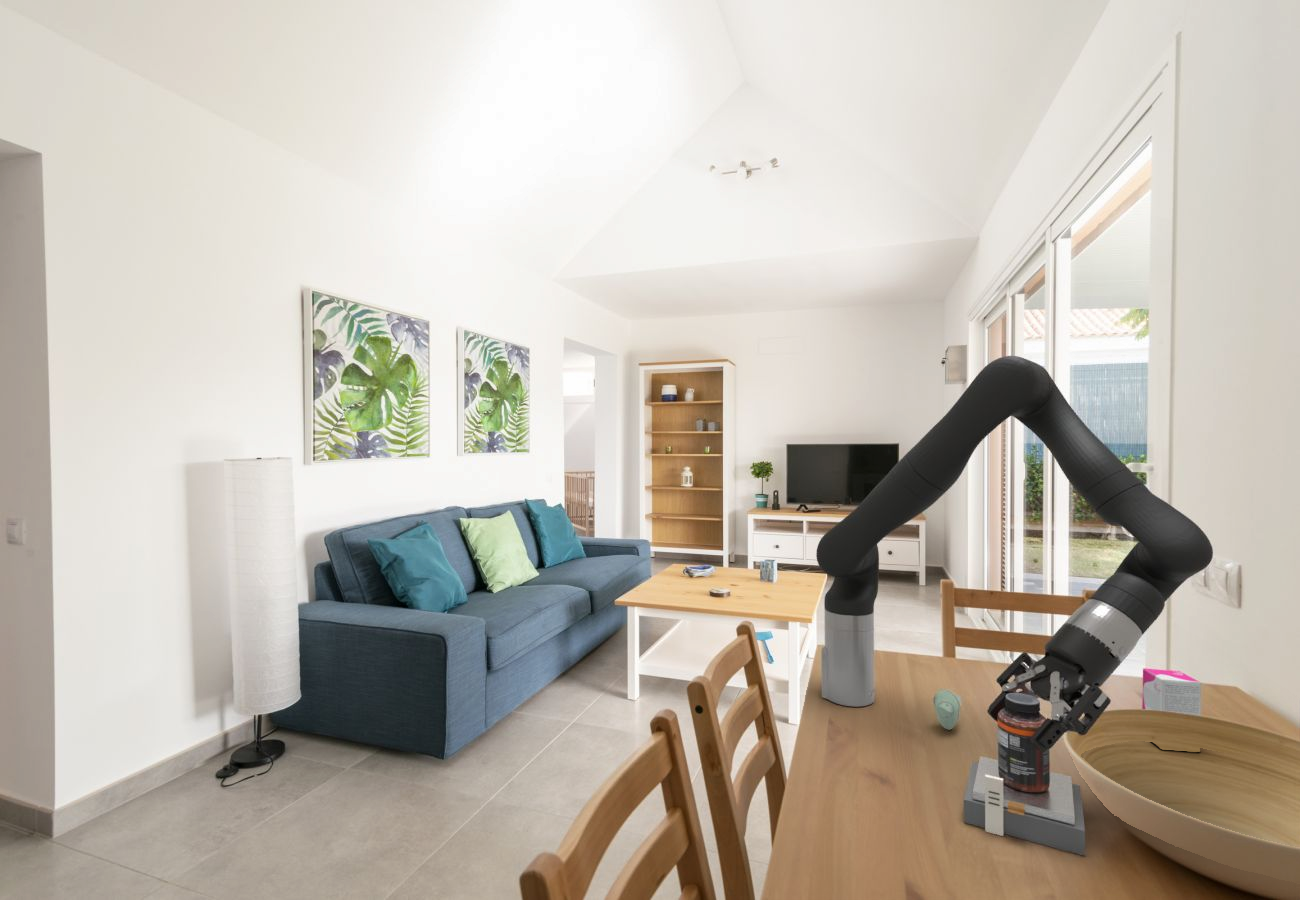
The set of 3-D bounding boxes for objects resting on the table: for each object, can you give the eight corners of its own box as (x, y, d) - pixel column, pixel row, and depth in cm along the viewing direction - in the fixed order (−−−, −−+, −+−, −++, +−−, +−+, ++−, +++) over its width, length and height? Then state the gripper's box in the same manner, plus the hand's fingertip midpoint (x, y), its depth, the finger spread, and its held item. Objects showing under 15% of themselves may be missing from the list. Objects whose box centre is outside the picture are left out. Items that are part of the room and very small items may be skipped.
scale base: (963, 825, 82) (963, 771, 82) (972, 781, 92) (972, 733, 92) (1085, 859, 75) (1085, 800, 75) (1080, 807, 86) (1079, 755, 86)
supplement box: (1202, 754, 100) (1202, 682, 100) (1160, 750, 102) (1160, 679, 102) (1180, 737, 106) (1180, 669, 106) (1140, 734, 107) (1140, 667, 107)
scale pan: (971, 804, 81) (971, 796, 81) (980, 763, 91) (980, 756, 91) (1075, 831, 75) (1075, 823, 75) (1071, 784, 86) (1071, 776, 86)
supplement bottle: (1043, 775, 86) (1043, 692, 86) (1055, 798, 80) (1055, 709, 80) (994, 768, 88) (993, 687, 88) (1002, 790, 82) (1002, 703, 82)
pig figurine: (952, 740, 105) (952, 700, 105) (927, 733, 108) (927, 693, 108) (965, 724, 111) (965, 686, 111) (941, 718, 114) (941, 680, 114)
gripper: (1036, 609, 92) (962, 692, 91) (1119, 638, 78) (1032, 736, 76) (1070, 644, 92) (997, 727, 91) (1158, 680, 78) (1073, 778, 77)
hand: (1013, 731), depth 84 cm, fingers open, 8 cm apart
